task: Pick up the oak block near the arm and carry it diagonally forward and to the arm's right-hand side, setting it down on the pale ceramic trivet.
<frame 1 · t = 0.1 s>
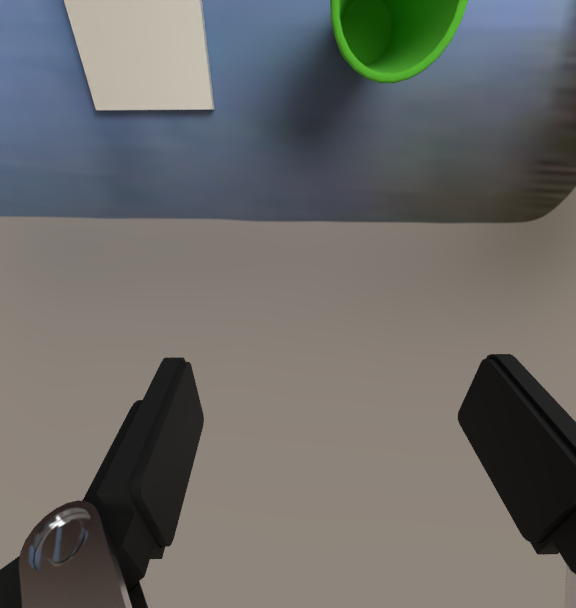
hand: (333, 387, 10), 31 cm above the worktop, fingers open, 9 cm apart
trivet: (142, 34, 29), on the worktop
cup: (363, 33, 29), on the worktop
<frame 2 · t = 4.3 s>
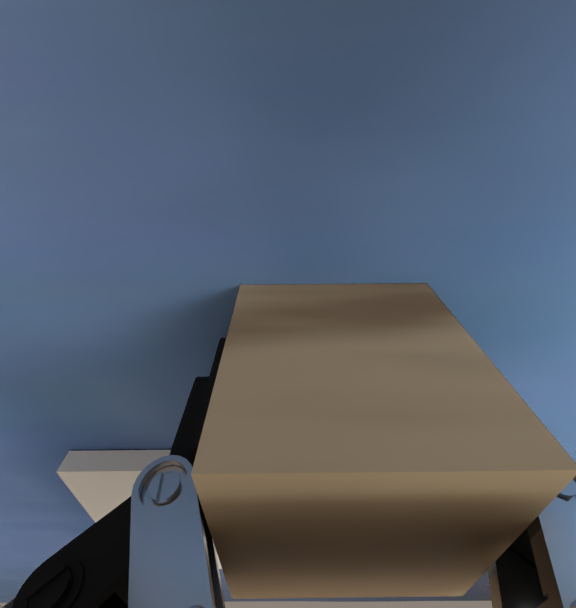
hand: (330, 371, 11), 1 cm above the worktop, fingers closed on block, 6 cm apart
block: (327, 354, 11), on the worktop, touching gripper
trivet: (212, 509, 18), on the worktop
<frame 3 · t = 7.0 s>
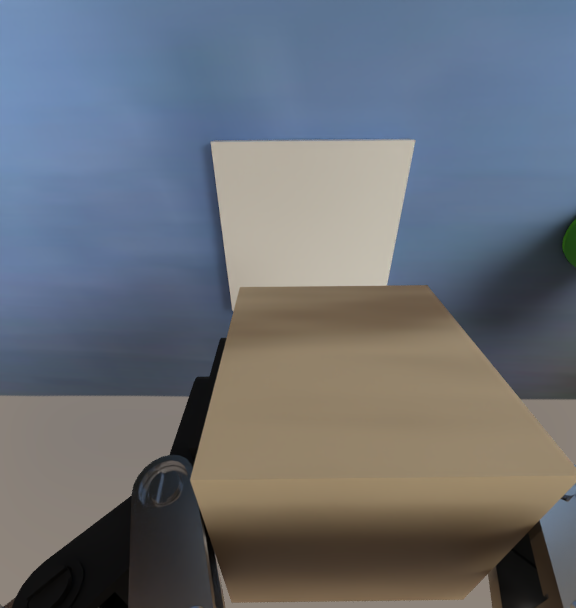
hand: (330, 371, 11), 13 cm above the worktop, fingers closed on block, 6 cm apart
block: (327, 356, 11), point 13 cm above the worktop, touching gripper
trivet: (308, 233, 22), on the worktop
when the fingers open (3 cm above the worktop, at t = 9.6 s): block drops 1 cm, resting on trivet.
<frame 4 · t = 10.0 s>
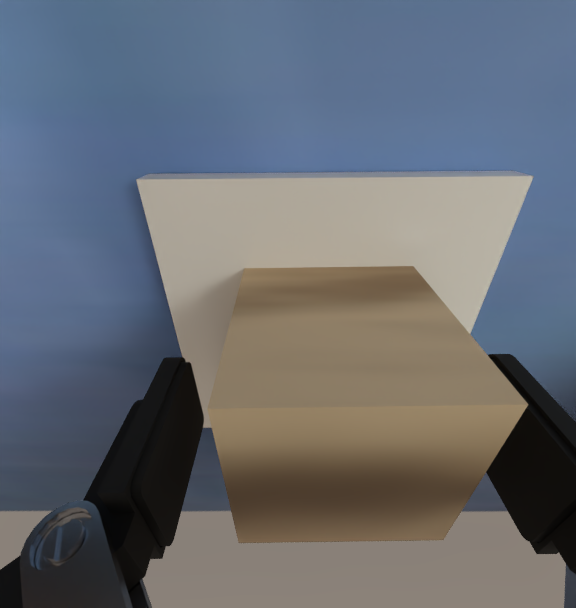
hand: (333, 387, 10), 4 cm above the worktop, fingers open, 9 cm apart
block: (324, 333, 12), point 1 cm above the worktop, touching trivet
trivet: (321, 320, 13), on the worktop
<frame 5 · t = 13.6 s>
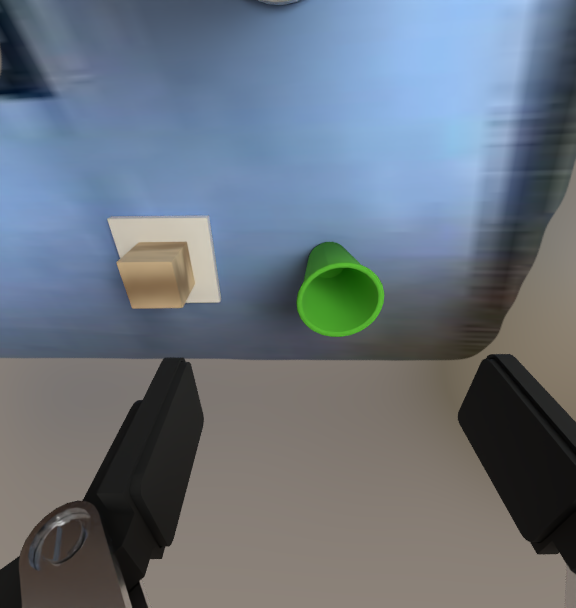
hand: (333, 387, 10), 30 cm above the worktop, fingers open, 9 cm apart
block: (168, 263, 39), point 1 cm above the worktop, touching trivet
trivet: (170, 260, 40), on the worktop
cup: (327, 258, 41), on the worktop
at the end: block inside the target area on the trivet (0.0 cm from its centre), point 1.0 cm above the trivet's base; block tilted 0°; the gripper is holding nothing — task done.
